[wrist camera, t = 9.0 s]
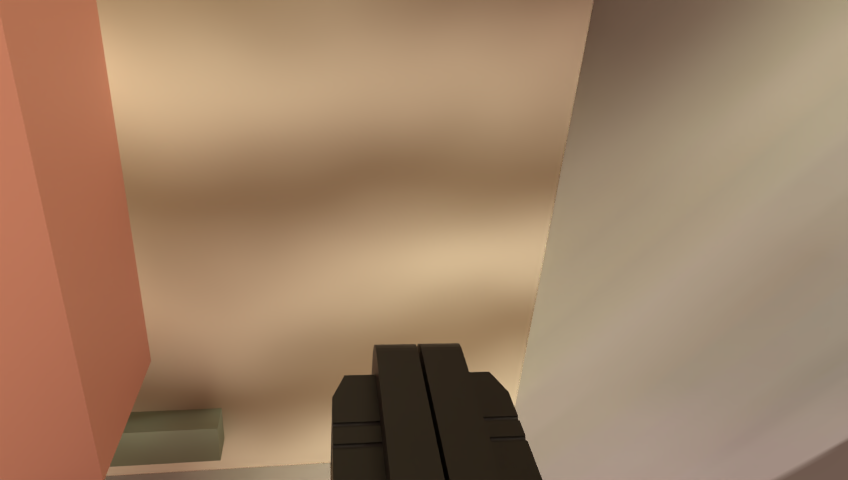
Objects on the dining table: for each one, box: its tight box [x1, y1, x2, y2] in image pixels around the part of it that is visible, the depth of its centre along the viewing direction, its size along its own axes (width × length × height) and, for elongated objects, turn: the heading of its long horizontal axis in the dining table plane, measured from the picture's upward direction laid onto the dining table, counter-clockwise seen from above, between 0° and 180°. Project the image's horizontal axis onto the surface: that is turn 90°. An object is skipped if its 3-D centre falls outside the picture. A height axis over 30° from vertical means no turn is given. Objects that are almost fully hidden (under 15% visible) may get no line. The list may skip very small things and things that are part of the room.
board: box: [96, 0, 594, 476], centre depth 17 cm, size 24×28×2 cm
